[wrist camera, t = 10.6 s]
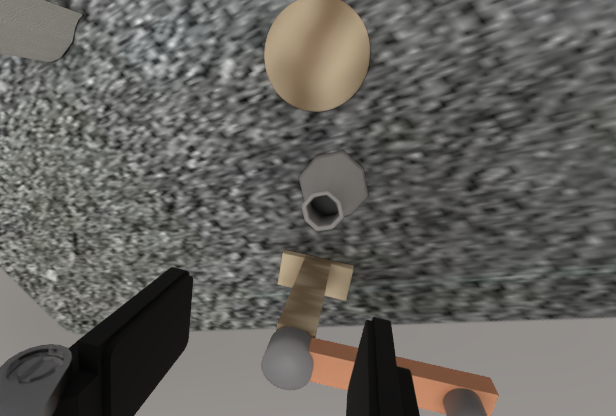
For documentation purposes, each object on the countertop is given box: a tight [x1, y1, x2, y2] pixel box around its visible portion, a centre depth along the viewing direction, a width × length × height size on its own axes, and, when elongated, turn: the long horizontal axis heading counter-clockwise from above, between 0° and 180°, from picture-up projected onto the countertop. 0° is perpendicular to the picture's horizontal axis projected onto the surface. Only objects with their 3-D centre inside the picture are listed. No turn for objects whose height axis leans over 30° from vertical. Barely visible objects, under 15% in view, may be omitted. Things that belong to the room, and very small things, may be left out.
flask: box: [299, 150, 369, 231], centre depth 30 cm, size 7×7×10 cm
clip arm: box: [261, 327, 499, 416], centre depth 21 cm, size 4×16×5 cm, turn 82°
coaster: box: [264, 0, 370, 112], centre depth 31 cm, size 10×10×1 cm
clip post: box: [276, 250, 354, 338], centre depth 31 cm, size 8×4×13 cm, turn 80°
